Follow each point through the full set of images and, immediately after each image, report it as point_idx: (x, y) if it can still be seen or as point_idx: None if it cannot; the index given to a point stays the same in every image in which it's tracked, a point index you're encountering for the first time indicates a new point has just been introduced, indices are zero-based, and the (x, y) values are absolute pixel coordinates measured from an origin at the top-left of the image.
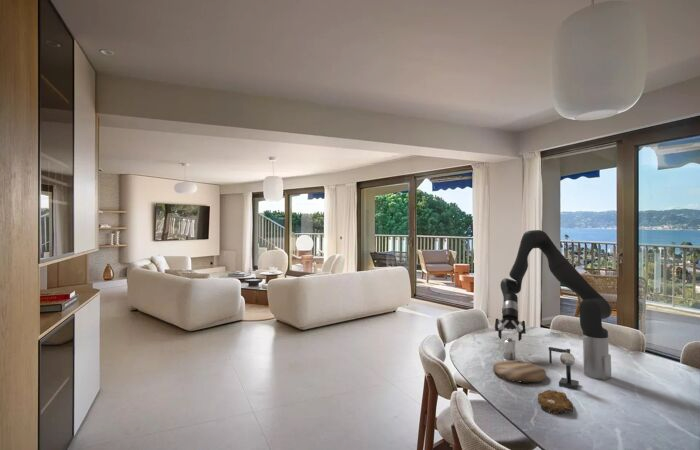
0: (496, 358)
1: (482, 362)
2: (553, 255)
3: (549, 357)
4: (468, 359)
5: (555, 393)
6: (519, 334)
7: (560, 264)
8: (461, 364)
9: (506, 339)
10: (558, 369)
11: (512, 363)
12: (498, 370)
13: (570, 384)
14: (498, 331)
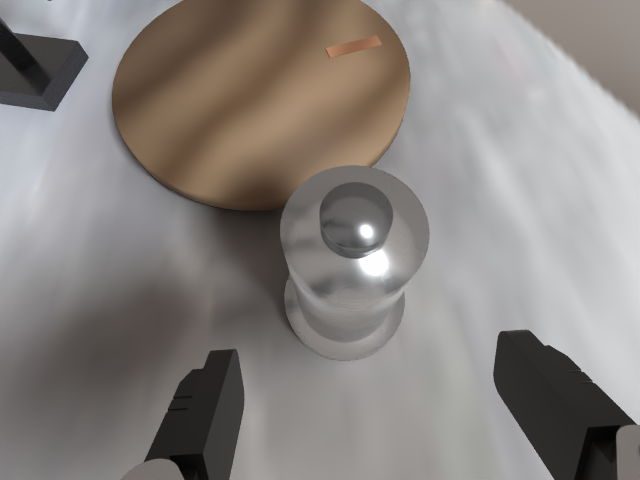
0: (454, 330)
1: (510, 195)
2: None
3: None
4: (620, 210)
5: None
6: (196, 407)
7: None
8: (602, 109)
9: (401, 276)
10: (10, 287)
11: (305, 136)
12: (364, 12)
13: (30, 36)
14: (627, 416)
